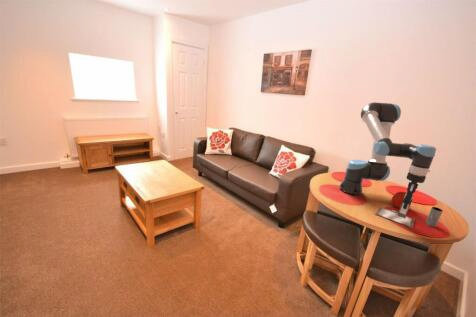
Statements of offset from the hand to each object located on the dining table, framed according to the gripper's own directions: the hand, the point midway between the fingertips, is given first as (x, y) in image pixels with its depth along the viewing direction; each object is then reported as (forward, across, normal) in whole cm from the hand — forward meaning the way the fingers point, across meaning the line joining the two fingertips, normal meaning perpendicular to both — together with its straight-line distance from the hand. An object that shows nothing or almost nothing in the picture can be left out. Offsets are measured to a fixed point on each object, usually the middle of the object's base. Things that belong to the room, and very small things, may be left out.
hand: (403, 211), depth 118 cm
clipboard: (+6, +3, +3) cm, 8 cm away
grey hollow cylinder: (+6, +11, -13) cm, 19 cm away
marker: (+3, 0, 0) cm, 3 cm away
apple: (+6, +22, +3) cm, 23 cm away
